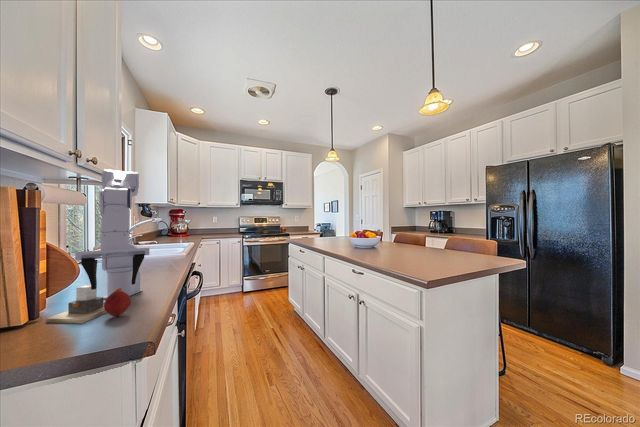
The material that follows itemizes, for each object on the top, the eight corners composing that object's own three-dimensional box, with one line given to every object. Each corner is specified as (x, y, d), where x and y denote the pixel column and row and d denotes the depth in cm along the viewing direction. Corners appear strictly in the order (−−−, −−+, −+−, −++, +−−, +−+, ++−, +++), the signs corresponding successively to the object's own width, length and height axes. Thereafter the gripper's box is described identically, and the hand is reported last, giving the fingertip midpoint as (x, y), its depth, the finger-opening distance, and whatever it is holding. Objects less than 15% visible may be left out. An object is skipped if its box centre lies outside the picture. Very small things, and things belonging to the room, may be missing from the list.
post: (86, 307, 73) (86, 284, 73) (96, 307, 73) (96, 284, 73) (76, 311, 70) (76, 287, 70) (86, 311, 70) (86, 287, 70)
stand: (90, 305, 78) (90, 293, 78) (120, 306, 77) (120, 293, 77) (46, 322, 66) (46, 307, 66) (81, 323, 65) (82, 308, 65)
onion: (115, 321, 66) (115, 291, 66) (98, 319, 67) (98, 290, 67) (135, 313, 72) (135, 285, 72) (119, 311, 73) (119, 284, 73)
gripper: (73, 232, 57) (70, 293, 55) (149, 230, 65) (149, 283, 63) (79, 235, 63) (77, 290, 61) (149, 233, 71) (149, 281, 69)
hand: (114, 286), depth 62 cm, fingers open, 7 cm apart
